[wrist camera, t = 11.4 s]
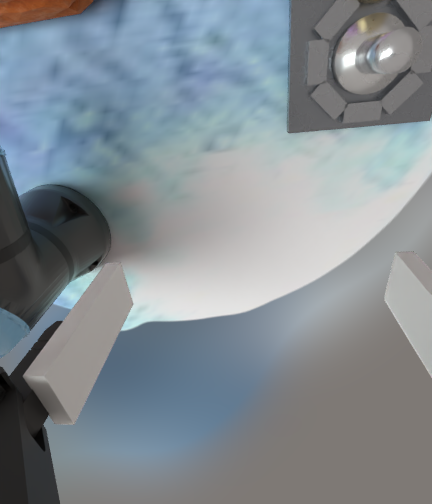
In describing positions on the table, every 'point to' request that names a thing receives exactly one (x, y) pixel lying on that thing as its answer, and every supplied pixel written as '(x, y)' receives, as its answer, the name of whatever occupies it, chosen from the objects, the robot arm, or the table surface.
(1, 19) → the bread
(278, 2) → the table surface
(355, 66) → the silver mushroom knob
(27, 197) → the robot arm
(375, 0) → the gold cymbal
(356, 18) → the carrier plate
